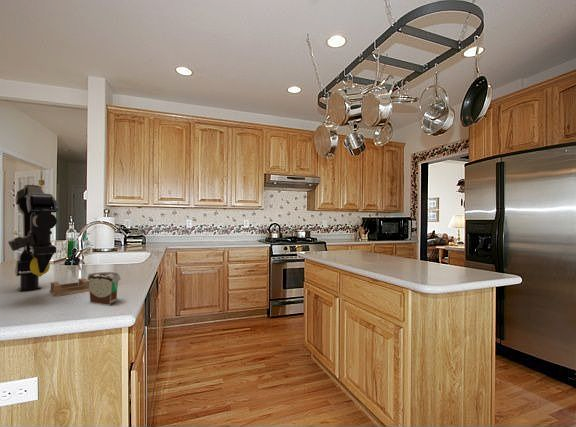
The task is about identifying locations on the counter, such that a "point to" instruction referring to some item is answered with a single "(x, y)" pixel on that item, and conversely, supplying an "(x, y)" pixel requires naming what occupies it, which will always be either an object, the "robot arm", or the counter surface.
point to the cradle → (69, 287)
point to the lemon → (35, 268)
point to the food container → (103, 287)
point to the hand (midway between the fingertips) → (40, 271)
